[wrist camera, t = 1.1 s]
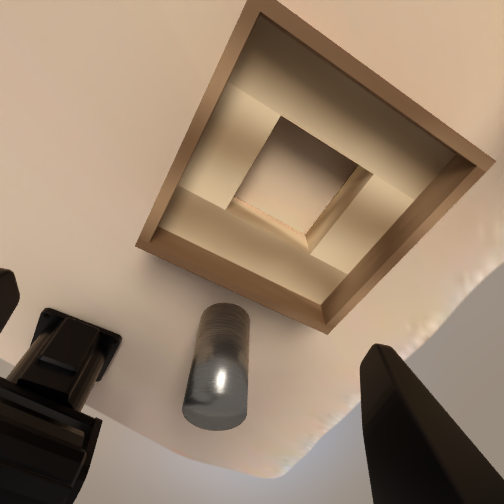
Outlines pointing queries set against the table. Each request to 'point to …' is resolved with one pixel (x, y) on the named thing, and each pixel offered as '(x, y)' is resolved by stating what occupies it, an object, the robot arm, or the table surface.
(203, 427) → the metal peg
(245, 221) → the walnut box
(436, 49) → the table surface
